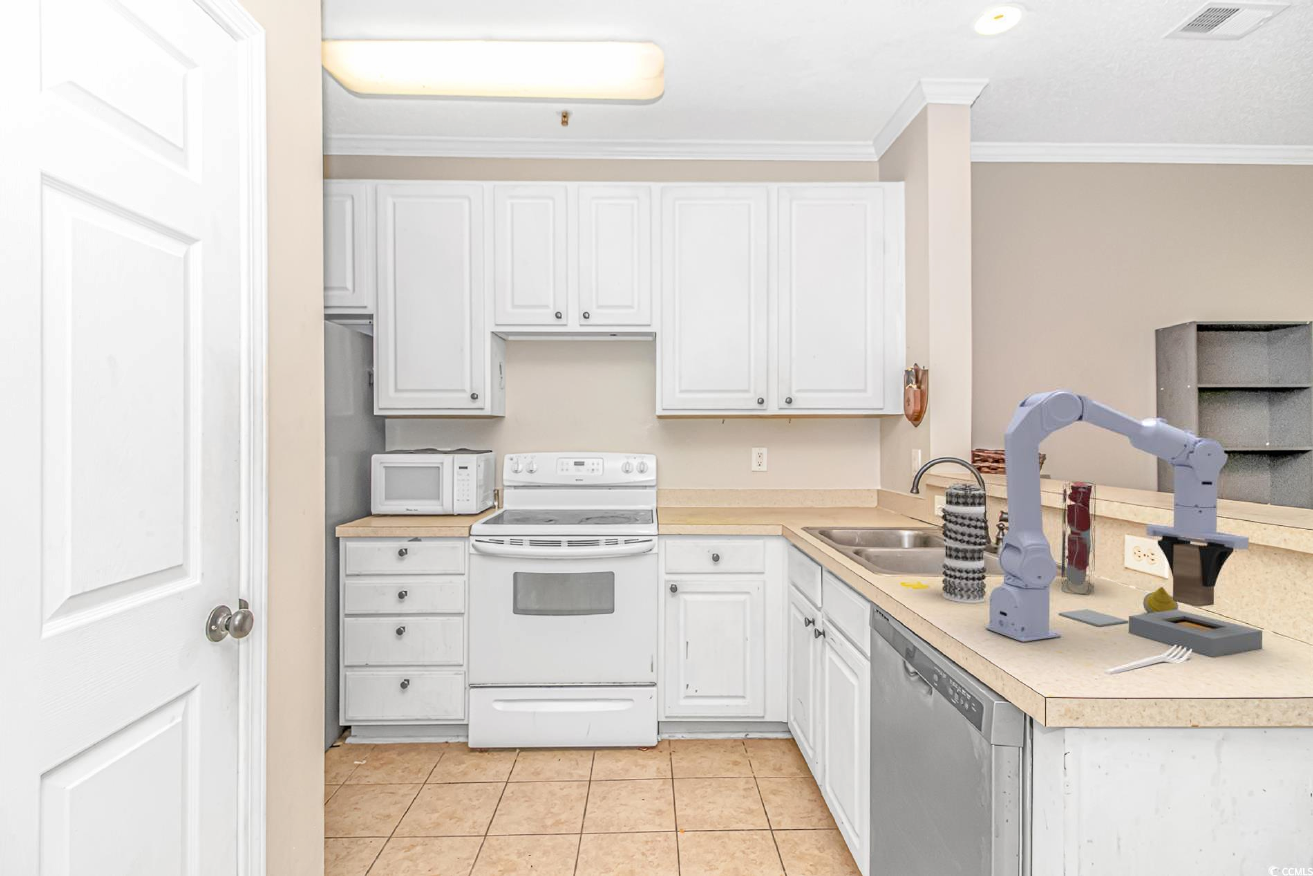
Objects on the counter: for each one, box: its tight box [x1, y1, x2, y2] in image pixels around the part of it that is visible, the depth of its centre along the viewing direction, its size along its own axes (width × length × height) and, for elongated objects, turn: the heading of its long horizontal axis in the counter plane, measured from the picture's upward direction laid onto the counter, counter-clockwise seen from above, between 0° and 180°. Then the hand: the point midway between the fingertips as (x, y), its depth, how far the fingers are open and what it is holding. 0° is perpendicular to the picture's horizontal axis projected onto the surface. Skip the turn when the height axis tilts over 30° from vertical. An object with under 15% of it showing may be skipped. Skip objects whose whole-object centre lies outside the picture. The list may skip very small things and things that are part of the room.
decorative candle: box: [941, 482, 989, 604], centre depth 136 cm, size 9×9×25 cm
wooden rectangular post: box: [1172, 543, 1215, 608], centre depth 109 cm, size 4×4×10 cm
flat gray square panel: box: [1058, 608, 1129, 628], centre depth 121 cm, size 8×8×1 cm
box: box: [1061, 481, 1097, 596], centre depth 142 cm, size 25×6×24 cm, turn 144°
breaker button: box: [1175, 622, 1211, 631], centre depth 109 cm, size 6×6×1 cm
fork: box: [1104, 645, 1193, 676], centre depth 98 cm, size 3×20×2 cm, turn 113°
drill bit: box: [1142, 586, 1179, 614], centre depth 122 cm, size 5×5×10 cm
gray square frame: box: [1128, 609, 1263, 658], centre depth 109 cm, size 13×13×3 cm
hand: (1193, 583), depth 109 cm, fingers closed on wooden rectangular post, 4 cm apart
